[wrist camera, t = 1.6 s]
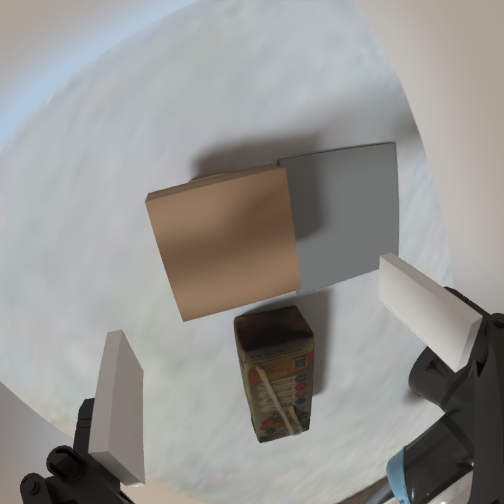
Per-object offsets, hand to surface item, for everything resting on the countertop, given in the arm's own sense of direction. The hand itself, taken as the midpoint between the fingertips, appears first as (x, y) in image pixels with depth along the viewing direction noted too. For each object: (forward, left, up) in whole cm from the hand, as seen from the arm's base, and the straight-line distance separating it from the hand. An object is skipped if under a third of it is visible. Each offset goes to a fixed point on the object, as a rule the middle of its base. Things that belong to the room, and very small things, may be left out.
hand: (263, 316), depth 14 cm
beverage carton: (-21, -2, -18) cm, 28 cm away
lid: (0, 0, -12) cm, 12 cm away
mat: (-3, -14, -17) cm, 22 cm away
